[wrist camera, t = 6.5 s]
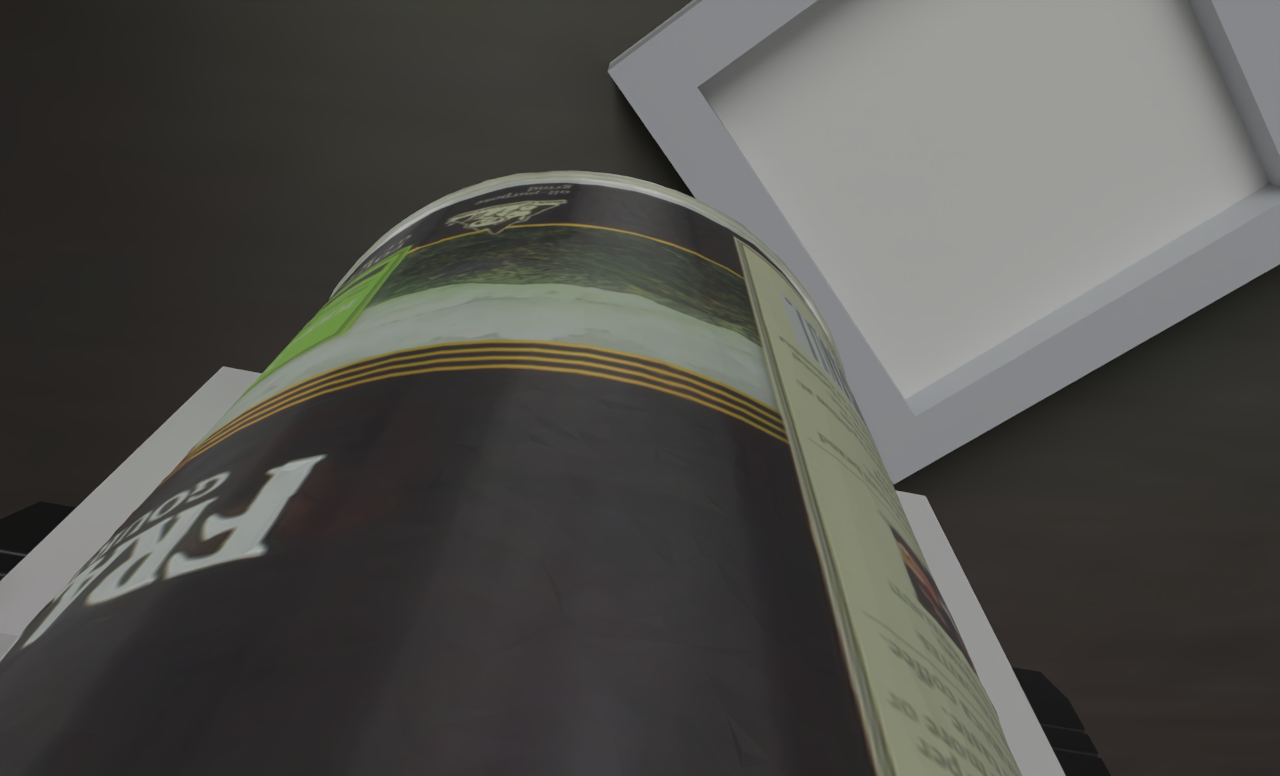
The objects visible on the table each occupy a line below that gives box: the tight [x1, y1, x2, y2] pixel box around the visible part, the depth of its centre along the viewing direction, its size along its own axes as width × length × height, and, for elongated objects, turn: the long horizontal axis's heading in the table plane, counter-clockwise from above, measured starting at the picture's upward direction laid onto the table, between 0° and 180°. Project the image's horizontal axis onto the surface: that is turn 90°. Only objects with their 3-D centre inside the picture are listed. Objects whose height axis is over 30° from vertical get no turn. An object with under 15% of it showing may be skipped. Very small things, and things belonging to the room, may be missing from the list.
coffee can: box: [0, 170, 1022, 776], centre depth 12 cm, size 10×10×14 cm
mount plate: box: [608, 0, 1280, 484], centre depth 32 cm, size 18×18×2 cm
